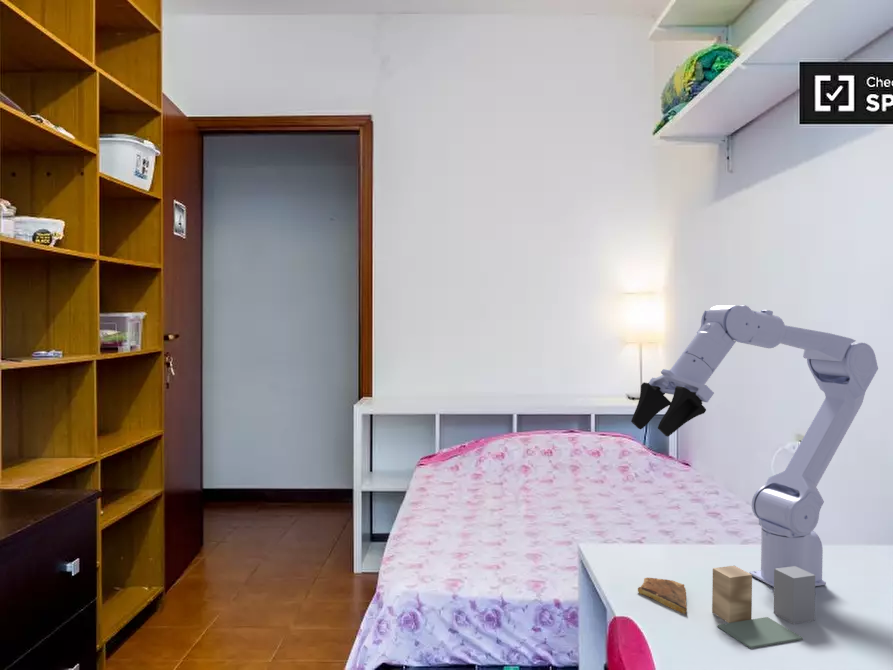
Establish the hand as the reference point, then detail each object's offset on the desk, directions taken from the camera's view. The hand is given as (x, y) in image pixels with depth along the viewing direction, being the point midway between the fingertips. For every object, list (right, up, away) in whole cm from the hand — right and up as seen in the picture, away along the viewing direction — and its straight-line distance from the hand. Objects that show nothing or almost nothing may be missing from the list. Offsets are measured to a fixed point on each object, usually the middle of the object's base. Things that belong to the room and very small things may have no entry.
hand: (648, 428), depth 112 cm
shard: (+5, -29, +3) cm, 29 cm away
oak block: (+12, -28, -4) cm, 31 cm away
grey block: (+21, -28, -5) cm, 36 cm away
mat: (+13, -29, -10) cm, 33 cm away
